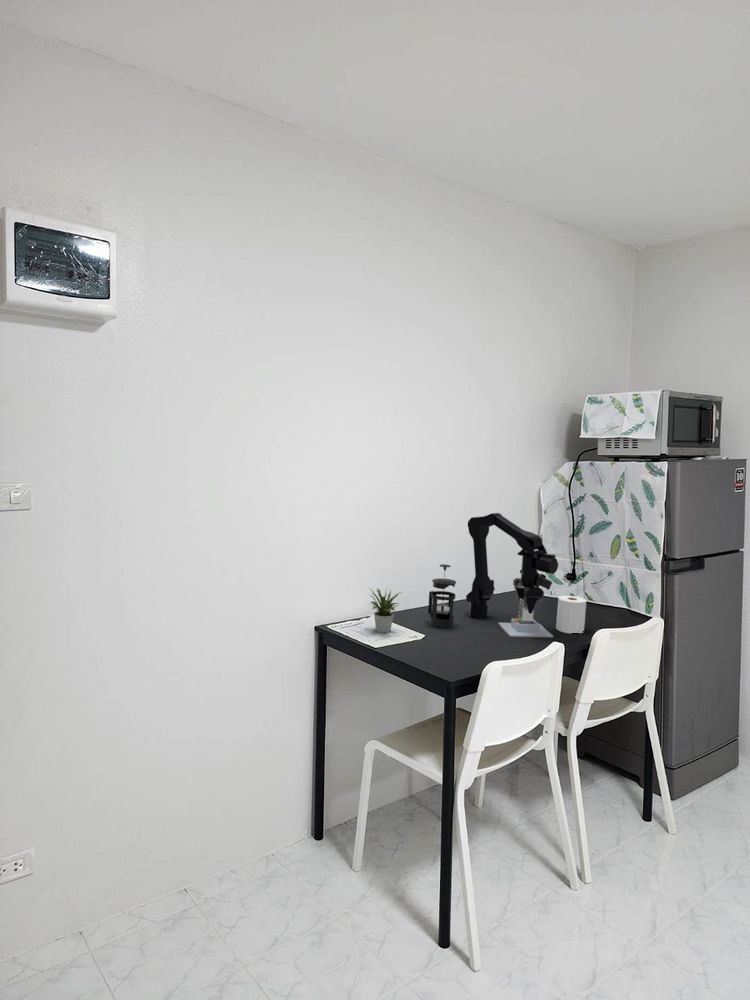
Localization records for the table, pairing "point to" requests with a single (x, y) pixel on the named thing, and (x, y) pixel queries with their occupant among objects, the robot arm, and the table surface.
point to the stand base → (524, 629)
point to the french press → (439, 618)
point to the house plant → (383, 611)
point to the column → (524, 611)
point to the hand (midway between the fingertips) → (526, 610)
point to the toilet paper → (571, 614)
